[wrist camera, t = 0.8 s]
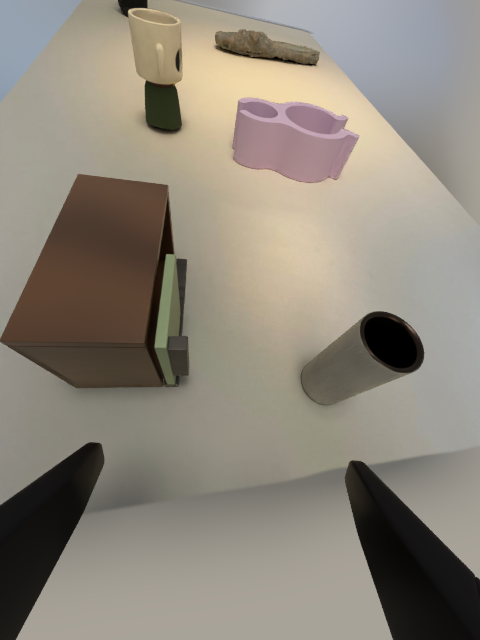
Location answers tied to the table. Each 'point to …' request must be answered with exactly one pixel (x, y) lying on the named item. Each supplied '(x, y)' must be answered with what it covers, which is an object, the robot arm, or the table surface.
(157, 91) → the character mug
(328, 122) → the clip
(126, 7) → the portable speaker
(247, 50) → the elongated rock
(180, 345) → the sliding door
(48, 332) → the cupboard
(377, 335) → the grey hollow tube
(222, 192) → the table surface
